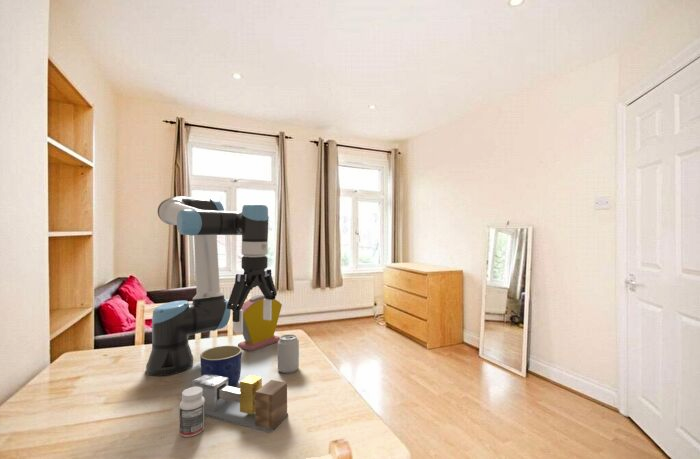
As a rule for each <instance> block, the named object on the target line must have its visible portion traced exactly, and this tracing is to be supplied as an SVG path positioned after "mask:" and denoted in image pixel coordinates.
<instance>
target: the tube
mask: <svg viewBox="0 0 700 459" xmlns="http://www.w3.org/2000/svg"><path fill="white" fill-rule="evenodd" d="M262 386H263V378H262V376H256V375H251V374H249V375H248V376H246V377H245V378H243V379H241V380H239V387H235V386H234V387H230V386H225V385H222V386H220V387H218V388H217V398H220V399H225V400H229V401H234V402H238V403H240V412H243V413H248V414H252V415H253V414H254V413H255V396H256V391H257V390H259V389H260V388H261V387H262Z"/></svg>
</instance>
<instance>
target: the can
mask: <svg viewBox="0 0 700 459" xmlns="http://www.w3.org/2000/svg"><path fill="white" fill-rule="evenodd" d="M279 337H280V340H279V341H278V342H277V369H278V371H279V372H280V373H282V374H292V373H294V372H296V371H297V370H298V369H299V366H300V359H299V358H300V354H299V352H300V340H299V339H298V336H297V335H296V334H291V333H290V334H283V335H281V336H279Z"/></svg>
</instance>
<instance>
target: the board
mask: <svg viewBox="0 0 700 459" xmlns="http://www.w3.org/2000/svg"><path fill="white" fill-rule="evenodd" d="M288 416H289V412H287V415H286V416H285V417H284V418H283V419H282V421H280V422H281V423H282V422H283V421H284V420H285V419H286V418H287V417H288ZM205 417H207V418H210V419H211V418H212V419H214V420H215V419H216V420H219V421H223V422H227V423H231V424H235V425H239V426H242V427H246V428H251V429H255V430H259V431H262V432H266V433H269V434H270V433H272V432H273V431H274V430H275V429H276V428H278V426H279V425H280V424H281V423H280V422H279V423H278V424H277V425H278V426H277V425H276V426H275V427H276V428H273V429H274V430H273V429H270V428H266V427H262V426H258V425H255V413H254V414H253V415H252V414H248V413H243V412H240V403H238V402H234V401H229V400H228V403H227V404H225V405H224V406H223V407H221V408H220V409H218V410H217V411H216V412H210V411H206V410H205ZM272 430H273V431H272Z"/></svg>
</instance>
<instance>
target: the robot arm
mask: <svg viewBox="0 0 700 459" xmlns="http://www.w3.org/2000/svg"><path fill="white" fill-rule="evenodd" d="M268 207H269V206H267V205H265V204H258V203H257V204H256V203H247V204H243V205H242V210H241V211H230V210H225V208H224V205H223V204H222V203H221V201H220V200H218V199H217V198H210V197H193V196H180V195H179V196H172V197H168V198H166V199H164V200H163V201H161V202H160V203H159V205H158V207H157V216H158V218H159V219H160V220H161V221H162V222H163V223H165V224H167V225H170V226H176V228H177V230H178V233H179V234H180V235H184V236H193V246H194V262H195V263H194V266H195V284H196V285H195V287H196V289H195V290H196V294H195V295H194V296H193V297H192V303H189V301H188V300H174V301H170V302H166V303H163V304H161V305H158V306H157V307H155V308H154V309H153V310H152V311H153V312H152V318H151V319H152V320H151V327H152V331H151V333H152V334H151V338H152V340H151V342H152V343H151V350H150V353H149V357H148V361H147V363H146V365H145V366H146V367H145V373H146V374H147V375H149V376H156V377H161V376H169V375H174V374H178V373H181V372H184V371H187V370H188V369H189V368H191V367H192V366H193V365H194V355H193V353H192V350H191V346H190V344H189V336H191V335H193V336H194V335H196V334H197V335H198V334H202V333H206V332H215V331H216V330H217V331H218V330H221V329H224V328H225V327H226V326H227V325H228V323H229V321H230V318H231V312H232V322H233V328H232V330H233V333H236V334H242V333H243V310H241V308H242V306H243V304H244V303H245V302H246V300H247V298H248V295H249V294H250V292H251V291H252V290H253V289H254V288H256V287H257V288H259V290H260V292H261V294H262V295H264V297H265V298H266V299H263V320H272V299H275V300H276V296H277V294H278V292H277V290H276V286H275V283H274V281H273V277H272V269H270V268H268V256H267V254H268V252H269V250H268V245H269V244H268V242H269V241H268V238H269V219H270V217H269V208H268ZM218 236H241V255H243V256H242V257H241V269H242V270H243V273H241V274H240V273H236V274H235V280H234V284H233V286H232V290H231V293H230V296H229V299H227V298H225V294H224V293H223V292H221V289H220V288H221V287H220V285H221V284H220V272H219V270H220V269H219V256H218V255H219V252H218V240H217V239H218Z"/></svg>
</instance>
